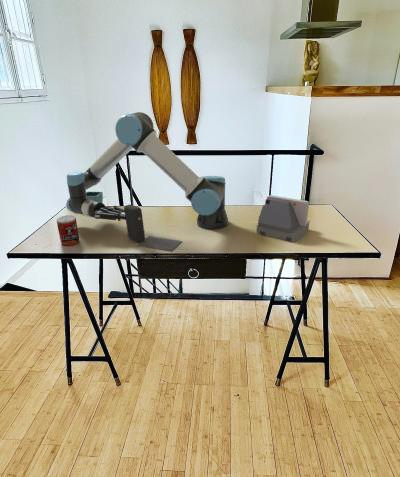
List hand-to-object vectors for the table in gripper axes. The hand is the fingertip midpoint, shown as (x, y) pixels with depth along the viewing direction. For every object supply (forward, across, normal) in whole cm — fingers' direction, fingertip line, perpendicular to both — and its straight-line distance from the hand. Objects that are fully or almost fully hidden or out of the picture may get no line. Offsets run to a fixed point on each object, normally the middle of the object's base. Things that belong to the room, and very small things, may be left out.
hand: (133, 218), depth 147 cm
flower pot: (-47, -20, -10) cm, 52 cm away
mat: (+12, -2, -10) cm, 16 cm away
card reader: (+1, 0, -10) cm, 10 cm away
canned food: (-22, +16, -10) cm, 30 cm away
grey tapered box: (+52, -41, -10) cm, 67 cm away
